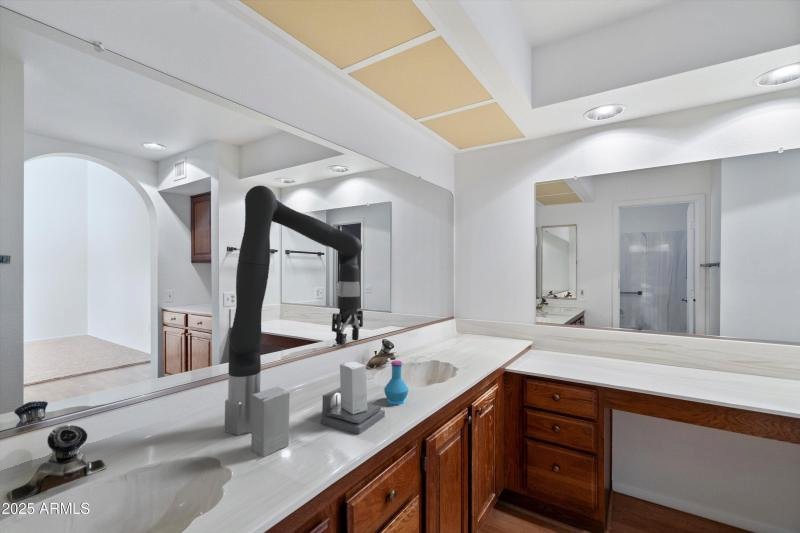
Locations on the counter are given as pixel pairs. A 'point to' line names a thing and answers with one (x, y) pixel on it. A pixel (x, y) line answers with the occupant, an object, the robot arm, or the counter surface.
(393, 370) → the perfume bottle
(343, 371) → the skincare box
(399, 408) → the counter surface
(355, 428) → the scale base
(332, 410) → the pan
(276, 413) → the skincare box
